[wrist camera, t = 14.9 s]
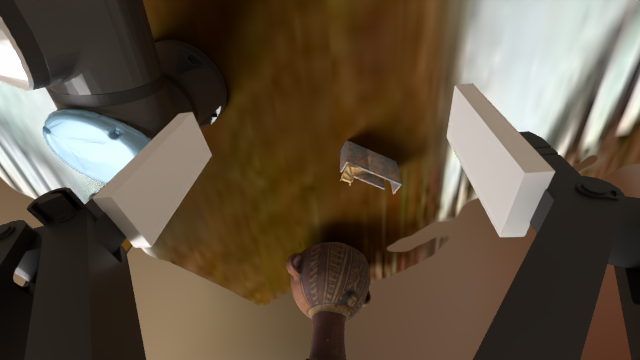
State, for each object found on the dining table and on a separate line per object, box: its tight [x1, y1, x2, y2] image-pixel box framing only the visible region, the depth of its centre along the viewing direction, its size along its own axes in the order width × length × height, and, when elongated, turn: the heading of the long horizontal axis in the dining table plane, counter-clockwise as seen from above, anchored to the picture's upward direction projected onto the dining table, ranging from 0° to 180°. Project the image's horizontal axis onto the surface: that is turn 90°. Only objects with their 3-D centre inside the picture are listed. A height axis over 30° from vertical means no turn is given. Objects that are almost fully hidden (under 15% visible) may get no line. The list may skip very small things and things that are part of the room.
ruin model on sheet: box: [340, 140, 402, 194], centre depth 54 cm, size 11×3×10 cm, turn 66°
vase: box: [286, 242, 371, 360], centre depth 65 cm, size 25×20×30 cm
